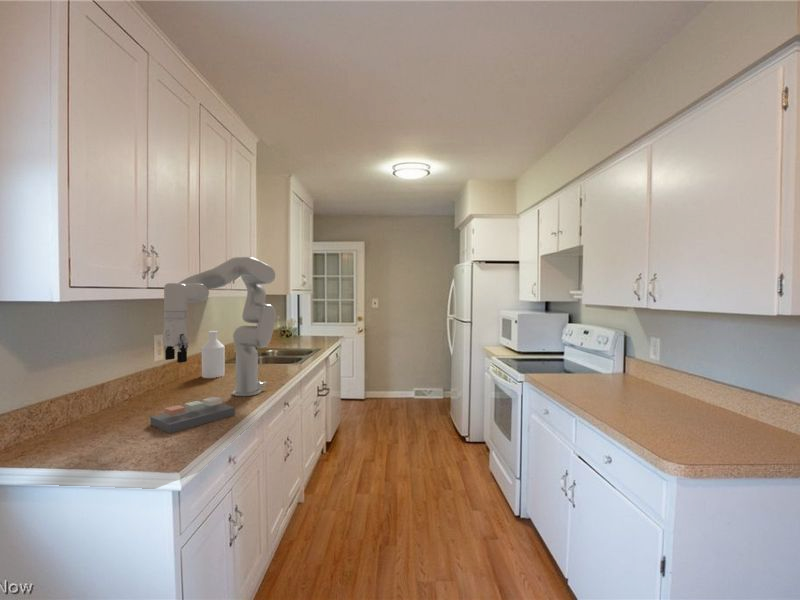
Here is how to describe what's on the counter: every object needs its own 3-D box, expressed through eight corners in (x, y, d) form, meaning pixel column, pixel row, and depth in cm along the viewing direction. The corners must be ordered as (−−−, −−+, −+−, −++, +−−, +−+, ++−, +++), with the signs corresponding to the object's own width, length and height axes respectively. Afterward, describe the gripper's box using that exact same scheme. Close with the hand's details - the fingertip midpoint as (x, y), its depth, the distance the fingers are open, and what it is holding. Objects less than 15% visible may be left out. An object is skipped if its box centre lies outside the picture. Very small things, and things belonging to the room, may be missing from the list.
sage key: (197, 405, 151) (197, 400, 151) (204, 407, 148) (204, 402, 148) (184, 408, 147) (184, 403, 147) (191, 410, 144) (191, 405, 144)
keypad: (214, 408, 161) (214, 401, 161) (234, 415, 153) (234, 407, 153) (150, 425, 142) (150, 416, 142) (169, 433, 134) (169, 424, 134)
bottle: (197, 376, 222) (197, 331, 221) (218, 372, 231) (218, 329, 230) (207, 379, 214) (207, 332, 213) (228, 375, 223) (228, 331, 222)
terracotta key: (178, 409, 145) (178, 405, 145) (184, 412, 142) (184, 407, 142) (164, 413, 141) (164, 408, 141) (170, 415, 138) (170, 410, 138)
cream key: (214, 401, 156) (214, 396, 156) (221, 403, 154) (221, 398, 154) (203, 404, 153) (202, 399, 153) (209, 406, 150) (209, 401, 150)
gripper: (154, 315, 152) (155, 359, 153) (176, 317, 142) (176, 364, 142) (175, 314, 158) (175, 357, 159) (197, 316, 148) (197, 362, 148)
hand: (175, 360), depth 151 cm, fingers open, 9 cm apart
